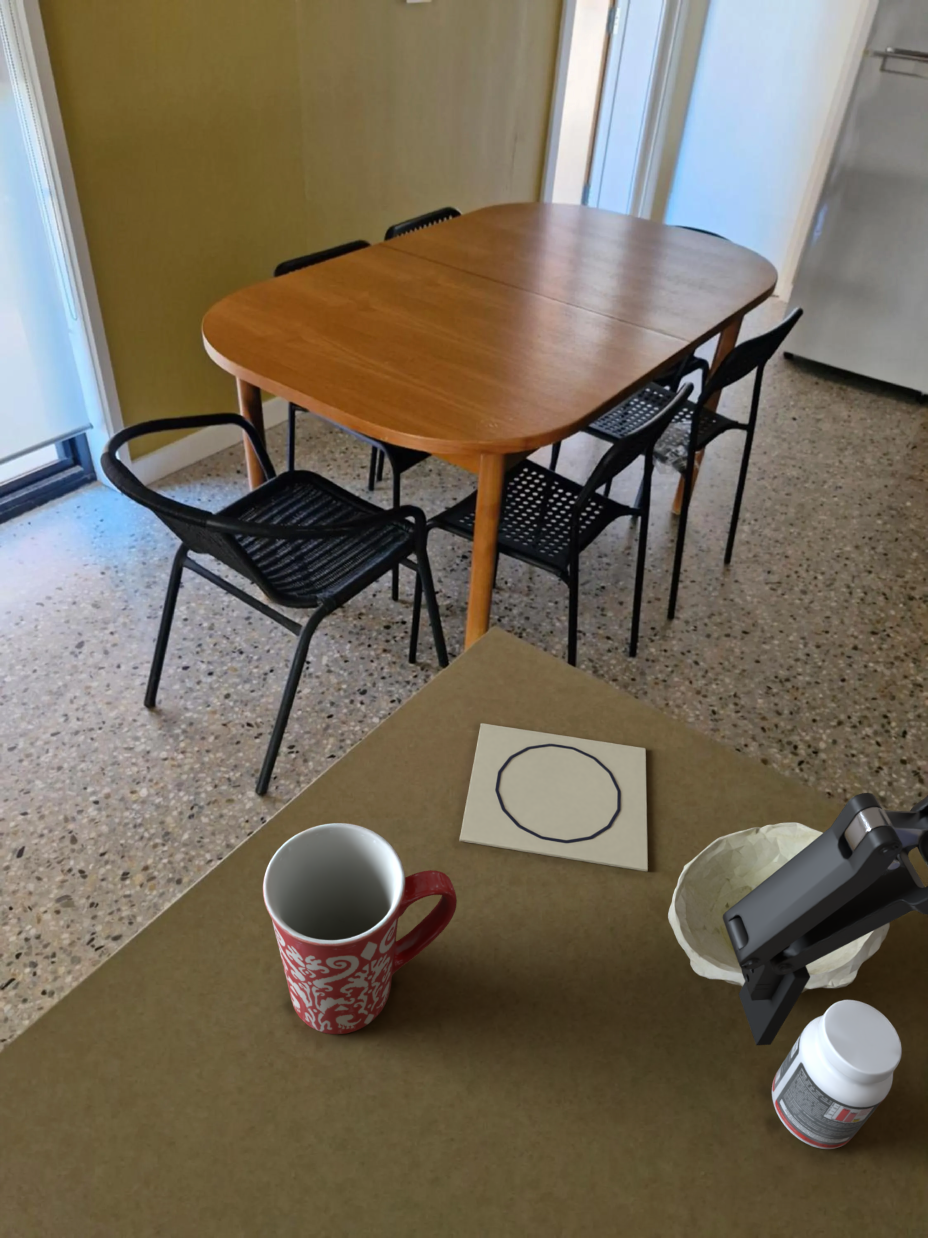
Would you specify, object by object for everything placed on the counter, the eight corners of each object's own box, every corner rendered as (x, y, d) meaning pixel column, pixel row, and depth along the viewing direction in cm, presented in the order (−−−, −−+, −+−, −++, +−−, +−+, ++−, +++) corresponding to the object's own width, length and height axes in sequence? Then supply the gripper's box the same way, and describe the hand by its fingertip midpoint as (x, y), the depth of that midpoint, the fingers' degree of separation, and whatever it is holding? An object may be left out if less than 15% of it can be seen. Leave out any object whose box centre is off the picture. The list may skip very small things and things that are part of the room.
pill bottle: (867, 1153, 59) (927, 1086, 52) (783, 1151, 58) (833, 1084, 52) (838, 1064, 63) (890, 993, 57) (759, 1062, 63) (803, 991, 56)
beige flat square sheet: (647, 872, 75) (647, 869, 74) (459, 841, 76) (459, 838, 76) (645, 750, 85) (645, 747, 85) (480, 725, 87) (481, 722, 86)
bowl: (673, 851, 76) (701, 774, 70) (842, 901, 74) (886, 825, 67) (647, 1010, 65) (677, 935, 59) (844, 1077, 62) (898, 1005, 56)
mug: (278, 1059, 61) (263, 953, 52) (274, 940, 67) (261, 829, 59) (459, 1031, 63) (473, 926, 55) (438, 919, 70) (448, 809, 61)
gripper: (1295, 658, 38) (1053, 935, 51) (729, 665, 35) (630, 957, 48) (1466, 797, 32) (1143, 1069, 45) (803, 820, 29) (667, 1103, 42)
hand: (877, 1012), depth 47 cm, fingers open, 13 cm apart
